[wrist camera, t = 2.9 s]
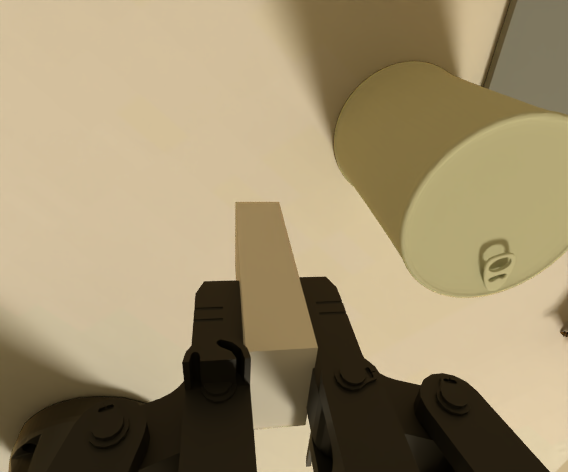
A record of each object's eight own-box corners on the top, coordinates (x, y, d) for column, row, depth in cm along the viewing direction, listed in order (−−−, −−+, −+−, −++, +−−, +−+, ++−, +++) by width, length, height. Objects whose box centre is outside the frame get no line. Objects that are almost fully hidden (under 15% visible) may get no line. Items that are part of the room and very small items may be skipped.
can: (342, 209, 29) (408, 326, 19) (323, 81, 24) (398, 150, 14) (463, 177, 29) (591, 278, 19) (468, 44, 24) (646, 85, 14)
